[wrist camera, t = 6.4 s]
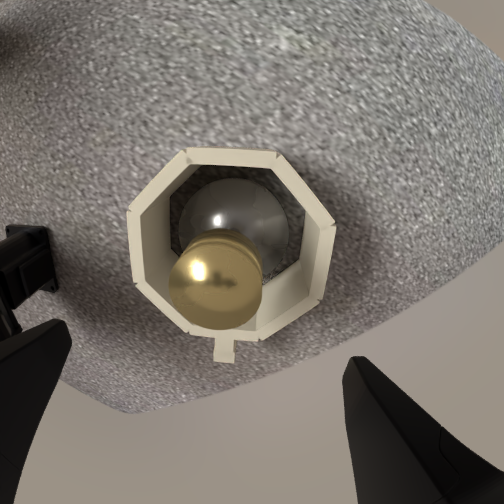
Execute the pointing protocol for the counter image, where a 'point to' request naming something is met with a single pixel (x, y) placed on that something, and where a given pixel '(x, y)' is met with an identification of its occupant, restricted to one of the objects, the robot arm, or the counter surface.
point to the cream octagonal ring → (273, 292)
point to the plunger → (227, 252)
